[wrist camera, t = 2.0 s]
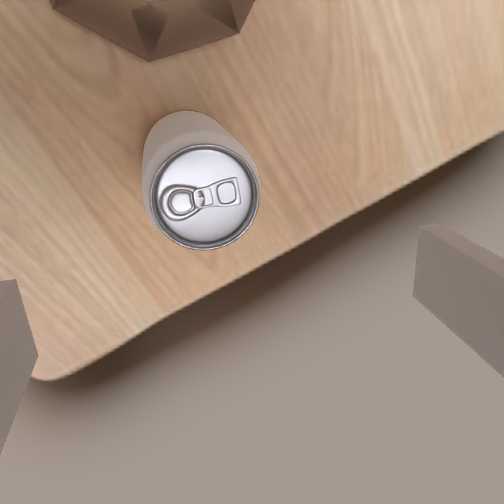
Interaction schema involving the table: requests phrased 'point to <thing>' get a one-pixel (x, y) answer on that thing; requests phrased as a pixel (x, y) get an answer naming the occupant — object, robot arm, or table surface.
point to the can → (198, 181)
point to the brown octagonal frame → (158, 22)
